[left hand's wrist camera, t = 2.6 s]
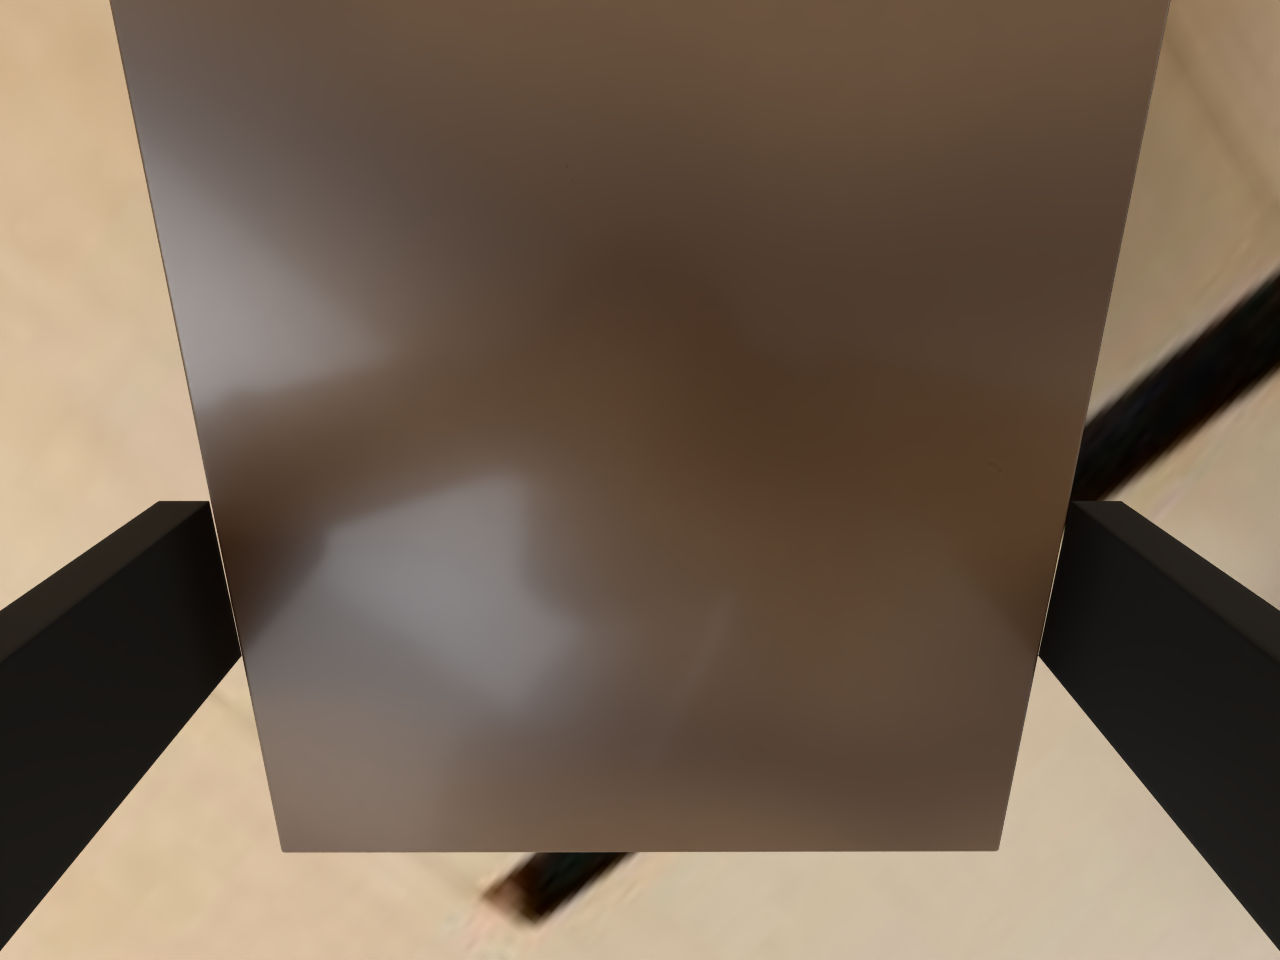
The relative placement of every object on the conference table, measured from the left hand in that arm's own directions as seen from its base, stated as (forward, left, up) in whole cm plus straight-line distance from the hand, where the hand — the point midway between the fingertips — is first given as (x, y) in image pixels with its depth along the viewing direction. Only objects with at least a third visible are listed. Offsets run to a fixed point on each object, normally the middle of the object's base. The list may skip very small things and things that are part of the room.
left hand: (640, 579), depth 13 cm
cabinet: (+6, -1, -11) cm, 12 cm away
